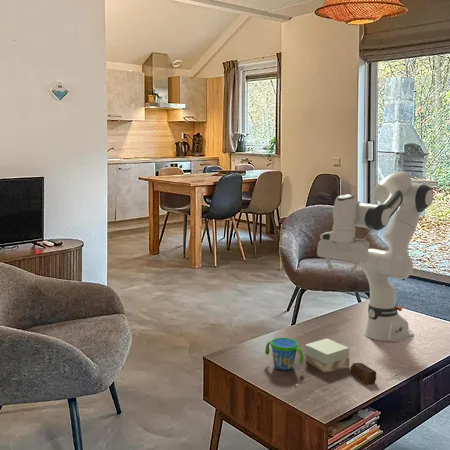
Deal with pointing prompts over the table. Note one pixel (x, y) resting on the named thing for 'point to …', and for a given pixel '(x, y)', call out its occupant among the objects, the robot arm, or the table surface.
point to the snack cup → (284, 352)
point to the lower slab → (328, 367)
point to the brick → (363, 373)
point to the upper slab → (326, 351)
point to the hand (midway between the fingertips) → (341, 270)
